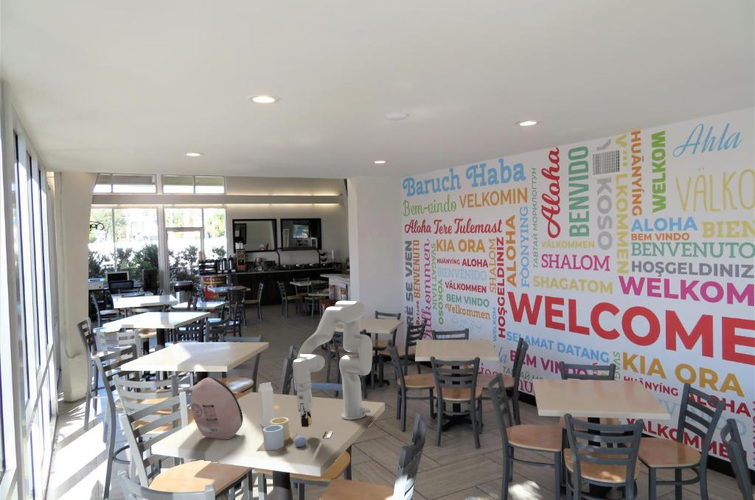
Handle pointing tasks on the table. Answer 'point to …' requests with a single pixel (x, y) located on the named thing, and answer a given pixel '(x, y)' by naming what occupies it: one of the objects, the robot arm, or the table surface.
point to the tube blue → (273, 437)
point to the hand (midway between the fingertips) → (306, 423)
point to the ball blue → (300, 441)
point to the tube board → (288, 441)
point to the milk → (266, 403)
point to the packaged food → (215, 409)
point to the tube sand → (284, 423)
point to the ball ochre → (309, 420)
